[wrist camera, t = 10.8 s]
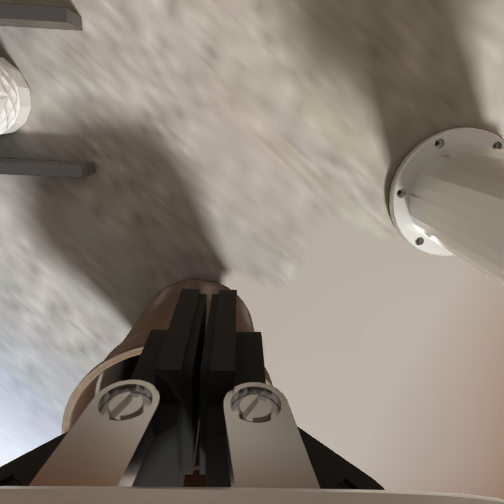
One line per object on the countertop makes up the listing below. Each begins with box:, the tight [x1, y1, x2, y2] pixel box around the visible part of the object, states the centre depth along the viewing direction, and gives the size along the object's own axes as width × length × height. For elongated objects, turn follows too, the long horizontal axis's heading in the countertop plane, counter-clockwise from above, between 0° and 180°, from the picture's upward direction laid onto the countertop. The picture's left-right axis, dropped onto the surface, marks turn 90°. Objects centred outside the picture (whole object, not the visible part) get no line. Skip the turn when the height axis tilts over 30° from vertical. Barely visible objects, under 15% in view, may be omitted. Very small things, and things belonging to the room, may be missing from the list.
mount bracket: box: [0, 4, 95, 178], centre depth 32 cm, size 13×13×3 cm
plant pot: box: [62, 279, 273, 487], centre depth 35 cm, size 16×16×16 cm
